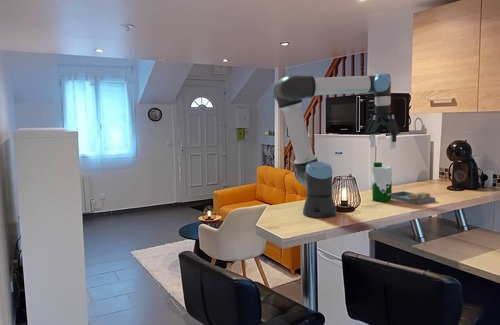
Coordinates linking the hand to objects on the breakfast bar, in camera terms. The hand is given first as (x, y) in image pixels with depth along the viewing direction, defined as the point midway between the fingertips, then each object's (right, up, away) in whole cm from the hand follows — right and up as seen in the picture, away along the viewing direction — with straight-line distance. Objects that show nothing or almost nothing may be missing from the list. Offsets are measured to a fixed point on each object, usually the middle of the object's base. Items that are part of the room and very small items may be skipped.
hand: (382, 147), depth 192 cm
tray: (+15, -27, +3) cm, 31 cm away
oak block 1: (+15, -27, -3) cm, 31 cm away
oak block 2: (+20, -27, -1) cm, 34 cm away
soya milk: (+1, -28, +3) cm, 28 cm away
